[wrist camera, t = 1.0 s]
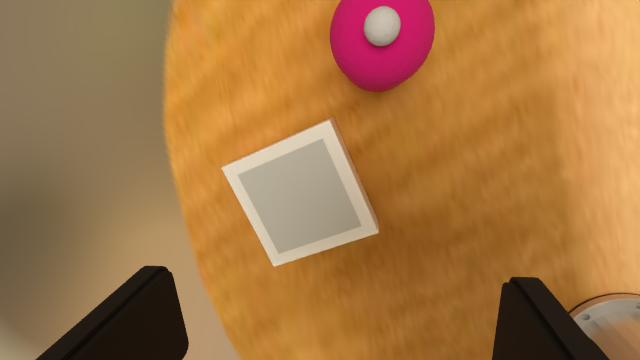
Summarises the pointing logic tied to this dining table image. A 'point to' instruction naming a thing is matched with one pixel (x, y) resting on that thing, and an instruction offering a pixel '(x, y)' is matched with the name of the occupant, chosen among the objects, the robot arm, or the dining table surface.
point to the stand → (303, 194)
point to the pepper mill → (381, 40)
